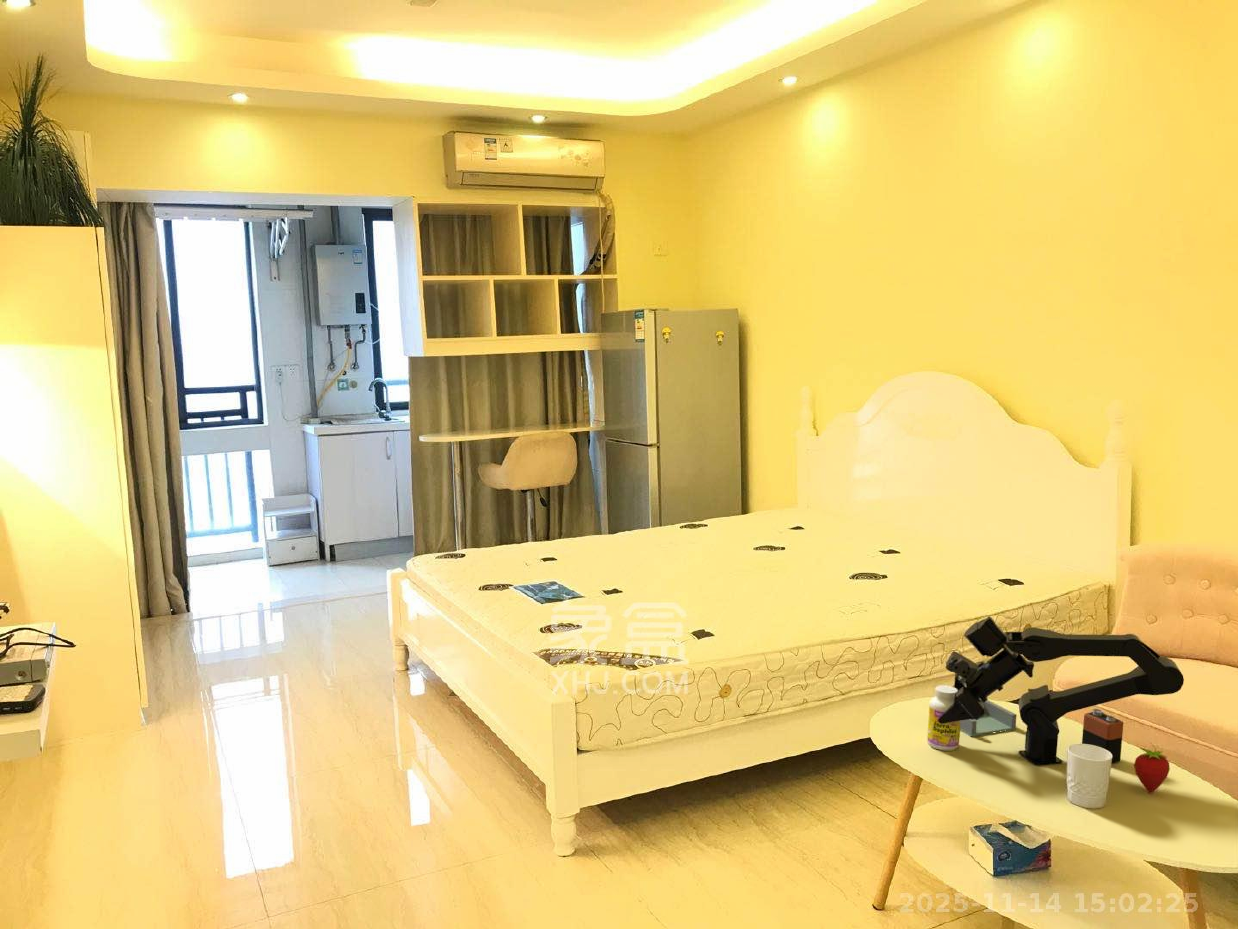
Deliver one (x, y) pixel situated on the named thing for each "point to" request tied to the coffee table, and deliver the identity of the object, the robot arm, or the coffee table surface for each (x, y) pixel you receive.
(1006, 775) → the coffee table surface
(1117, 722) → the battery
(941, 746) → the supplement bottle
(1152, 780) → the strawberry
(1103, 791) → the white cup
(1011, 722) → the grey tray
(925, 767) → the coffee table surface
